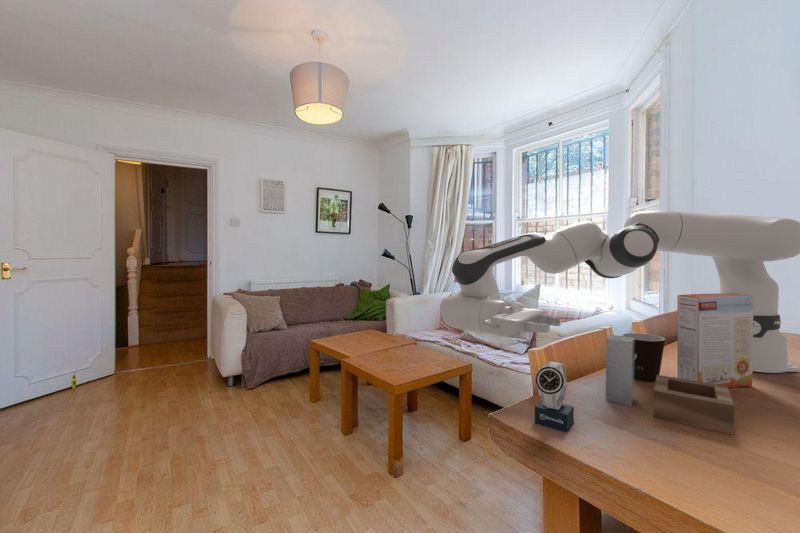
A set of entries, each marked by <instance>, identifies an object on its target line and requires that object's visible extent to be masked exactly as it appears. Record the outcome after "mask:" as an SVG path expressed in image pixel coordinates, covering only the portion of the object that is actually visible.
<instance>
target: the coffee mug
mask: <svg viewBox="0 0 800 533" xmlns="http://www.w3.org/2000/svg"><path fill="white" fill-rule="evenodd" d="M621 336H625V337H634V338H635V344H634V381H635V380H636V381H639V382H646V383H655V381H656V376H657V375H660V372H661V366H662V361H663V355H664V347H665V341H666V338H664V337H662V336H659V335H656V334H655V335H654V334H650V333H642V332H641V333H640V332H639V333H638V332H627V333H626V332H625V333H623V334H621Z"/></svg>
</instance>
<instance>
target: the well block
mask: <svg viewBox="0 0 800 533" xmlns="http://www.w3.org/2000/svg"><path fill="white" fill-rule="evenodd" d="M652 403H653V404H652V406H653V407H652V408H653V409H652V410H653V412H652V413H653V414H652V416H653V418H655V419H660V420H664V421H669V422H672V423H673V422H675V423H677V424H681V425H685V426H691V427H696V428H700V429H703V430H704V429H705V430H709V431H714V432H718V433H722V434H726V435H731V436H734V434H735V433H734V431H735V430H734V426H735V423H734V422H735V404H734V401H733V399H732V395H731V392H730V390H729V387H728V386H724V385H717V384H711V383H705V382H699V381H693V380H687V379H681V378H678V377H674V376H669V375H668V376H666V375H660V374H659V375H657V376H656V381H655V382H654V387H653V402H652Z"/></svg>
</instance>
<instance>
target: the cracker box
mask: <svg viewBox="0 0 800 533" xmlns="http://www.w3.org/2000/svg"><path fill="white" fill-rule="evenodd" d="M753 372H754V371H753V295H745V294H737V293H721V292H719V293H690V294H689V293H688V294H678V295H677V378H681V379H687V380H693V381H699V382H705V383H711V384H717V385H724V386H728V388H737V387H738V388H739V387H752V386H753V380H754V379H753V378H754V377H753V376H754V375H753Z"/></svg>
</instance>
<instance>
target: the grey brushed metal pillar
mask: <svg viewBox="0 0 800 533" xmlns="http://www.w3.org/2000/svg"><path fill="white" fill-rule="evenodd" d="M605 340H606V346H605V349H606V350H605V351H606V352H605V354H606V355H605V356H606V358H605V360H606V361H605V401H607V402H610V403H615V404H620V405H625V406H630V407H632V406H633V402H634V399H635V398H634V396H635V394H634V392H635V379H634V344H635V338H634V337H625V336H622V335H616V334H615V335H614V334H609V335H608V337H606V339H605Z"/></svg>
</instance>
